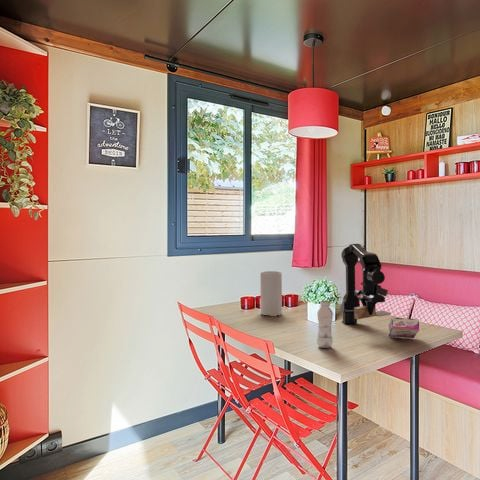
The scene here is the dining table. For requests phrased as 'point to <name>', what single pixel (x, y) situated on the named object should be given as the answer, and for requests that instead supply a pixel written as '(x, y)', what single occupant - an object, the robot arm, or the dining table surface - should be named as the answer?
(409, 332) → the candy bar box
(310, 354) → the dining table surface
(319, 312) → the plastic bottle
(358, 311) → the turner
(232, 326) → the dining table surface
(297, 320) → the dining table surface
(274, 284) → the cylinder vase
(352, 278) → the robot arm
